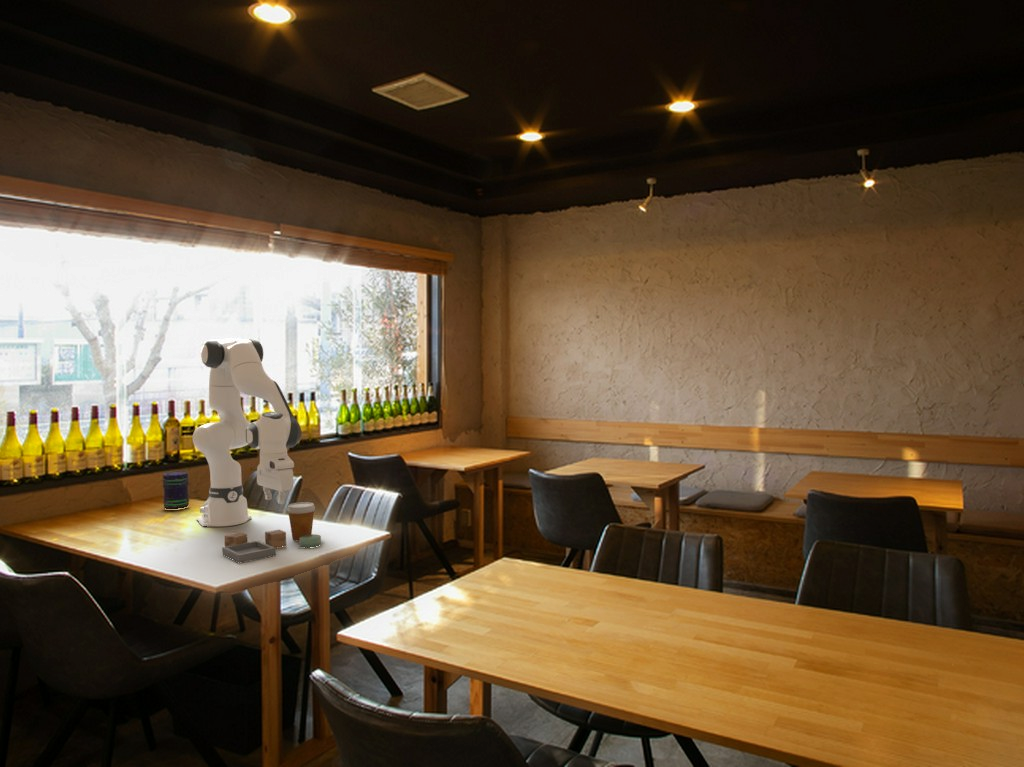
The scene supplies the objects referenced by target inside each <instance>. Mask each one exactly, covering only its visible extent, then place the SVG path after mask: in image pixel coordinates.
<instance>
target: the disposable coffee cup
mask: <svg viewBox="0 0 1024 767" xmlns="http://www.w3.org/2000/svg"><path fill="white" fill-rule="evenodd" d="M315 510H316V507H315V504H314V503H313V502H307V501H305V502H294V503H290V504H289V505H288V506H287V509H286V511H287V513H288V517H289V526H290V532H291V536H292V541H294V540H297V541H296V542H299V538H300V537H301V536H304V535H312V534H313V533H312V532H313V524H314V515H315V514H314V513H315Z"/></svg>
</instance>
